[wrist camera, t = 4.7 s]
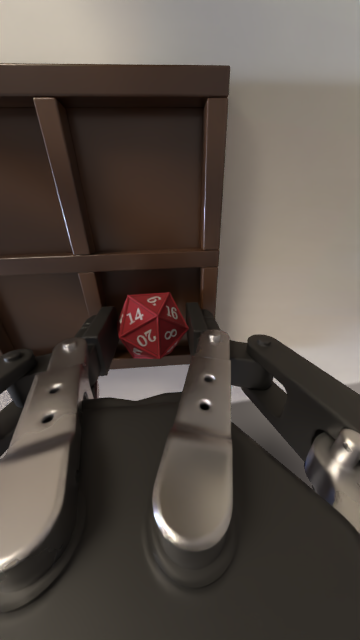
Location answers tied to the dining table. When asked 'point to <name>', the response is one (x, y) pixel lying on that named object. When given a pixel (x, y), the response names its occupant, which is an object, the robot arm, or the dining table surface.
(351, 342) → the dining table surface
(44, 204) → the holder
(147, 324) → the dice
